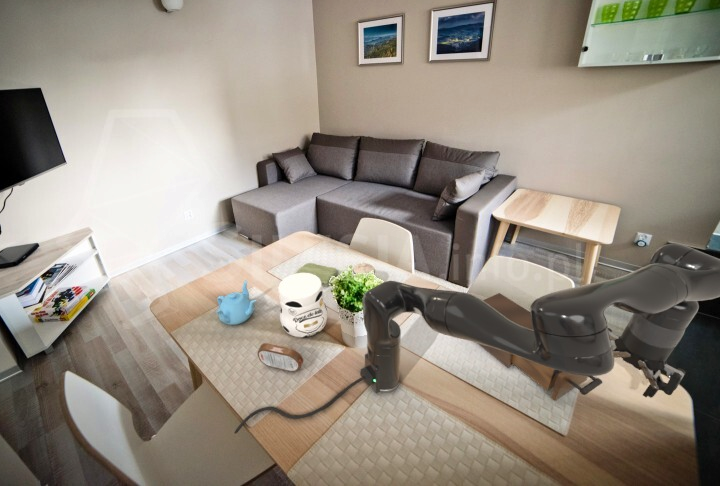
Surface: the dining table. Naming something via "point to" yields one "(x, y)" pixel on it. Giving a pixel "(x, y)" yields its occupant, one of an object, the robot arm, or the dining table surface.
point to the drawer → (554, 378)
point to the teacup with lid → (363, 268)
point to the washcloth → (319, 272)
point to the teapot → (235, 307)
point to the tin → (280, 357)
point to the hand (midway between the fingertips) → (622, 379)
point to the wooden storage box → (513, 314)
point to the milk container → (302, 305)
